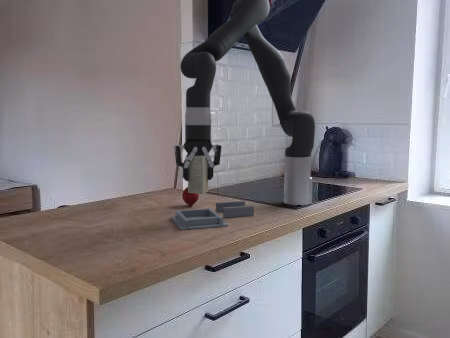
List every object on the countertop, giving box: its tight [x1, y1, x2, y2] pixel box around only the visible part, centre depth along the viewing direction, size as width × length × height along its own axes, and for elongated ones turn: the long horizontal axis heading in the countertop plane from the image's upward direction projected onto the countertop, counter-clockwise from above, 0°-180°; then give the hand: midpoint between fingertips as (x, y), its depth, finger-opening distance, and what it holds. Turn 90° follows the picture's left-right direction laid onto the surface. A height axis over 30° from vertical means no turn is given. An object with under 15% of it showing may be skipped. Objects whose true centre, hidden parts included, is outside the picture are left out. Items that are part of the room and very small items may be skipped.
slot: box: [215, 200, 255, 219], centre depth 134 cm, size 10×9×3 cm
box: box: [187, 156, 209, 194], centre depth 121 cm, size 5×4×11 cm
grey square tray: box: [170, 207, 229, 231], centre depth 123 cm, size 14×14×3 cm
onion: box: [182, 186, 200, 207], centre depth 144 cm, size 6×6×8 cm
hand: (198, 180), depth 121 cm, fingers closed on box, 6 cm apart
